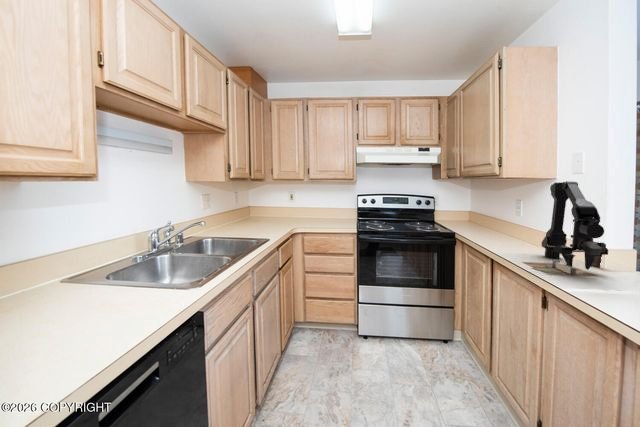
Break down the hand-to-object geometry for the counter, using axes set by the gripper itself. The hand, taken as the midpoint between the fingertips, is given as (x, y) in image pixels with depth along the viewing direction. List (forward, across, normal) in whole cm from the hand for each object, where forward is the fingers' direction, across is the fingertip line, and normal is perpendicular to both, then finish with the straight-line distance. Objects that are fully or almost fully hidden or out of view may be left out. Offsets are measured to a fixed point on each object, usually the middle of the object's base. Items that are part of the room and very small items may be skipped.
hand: (578, 269), depth 134 cm
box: (+3, +17, +13) cm, 21 cm away
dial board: (+2, -5, +5) cm, 8 cm away
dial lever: (+1, -5, +1) cm, 6 cm away
